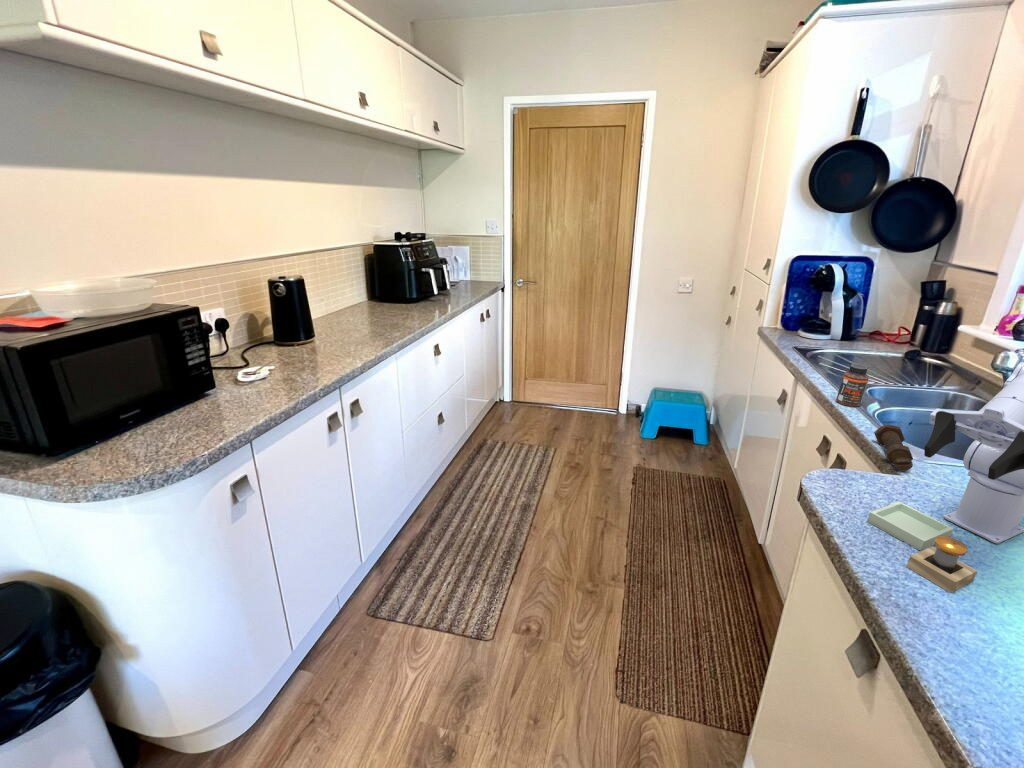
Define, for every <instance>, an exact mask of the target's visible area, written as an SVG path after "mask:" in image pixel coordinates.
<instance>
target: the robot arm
mask: <svg viewBox="0 0 1024 768" xmlns="http://www.w3.org/2000/svg"><path fill="white" fill-rule="evenodd" d="M1002 386H1003V388H1002V389H1001V390H1000V391H999V392H998V393H997V394H995V396H994V397H993V398H991V399H990V400H989V401H988V402H987V403H986V404H985V405H984V406H983V407H981V408H980V409H979V410H978V411H976V410H950V409H949V410H947V409H943V408H942V409H941V408H937V407H936V408H935V409H934V410H933V411H931V413H930V414H929V424H930V425H933V430H932V433H931V435H930V437H929V440H927V443H926V444H925V445H924V456H925V457H927V458H932V457H933V456H935V455H936V454H937V453H938V452H939V451H940V450H941V449H942V448H944V447H945V446H947V445H949V444H952V443H955V442H956V431H958V432H960V433H961V434H964V435H965V436H967V437H969V438H970V439H973V440H974V441H972V443H971V444H970V445H969V446H968V448H967V450H966V452H965V454H964V456H963V459H962V460H963V461H962V463H963V467H964V469H966V470H968V472H967V476H968V477H970V478H969V480H968V483H967V485H966V488H965V490H964V492H963V495H962V497H961V499H960V502H959V504H958V508H957V509H956V510H954V511H951V512H949V513H947V514H944V515H943V518H944V520H947V521H948V522H950V523H952V524H955V525H956V526H958V527H961V528H963V529H965V530H967V531H969V532H971V533H972V534H976V535H977V536H979V537H982V538H984V539H986V540H987V541H990V542H991V543H994V544H996V545H997V544H998V545H999V544H1001V543H1004V542H1005V541H1007V540H1009V539H1011V538H1013V537H1016V536H1017V535H1020V534H1021V533H1024V527H1023V526H1021V525H1020V523H1021V521H1022V519H1023V517H1024V362H1022V361H1020V362H1019V363H1018V364H1017V366H1015V368H1014V370H1013V372H1012V373H1011V375H1010V376H1009V377H1008V378H1007V379H1006V380H1005V382H1004V384H1003V385H1002Z"/></svg>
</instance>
